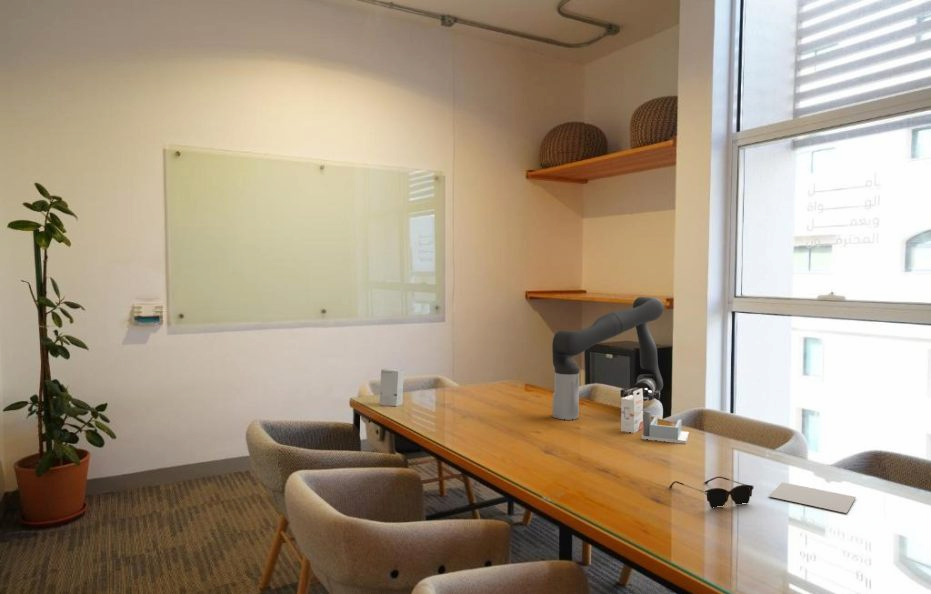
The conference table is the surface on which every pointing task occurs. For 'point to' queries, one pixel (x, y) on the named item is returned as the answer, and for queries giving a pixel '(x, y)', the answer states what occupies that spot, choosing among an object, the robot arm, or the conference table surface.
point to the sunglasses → (725, 493)
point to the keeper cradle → (662, 430)
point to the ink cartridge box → (632, 412)
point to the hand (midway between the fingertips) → (637, 397)
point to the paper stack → (813, 497)
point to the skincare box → (391, 387)
